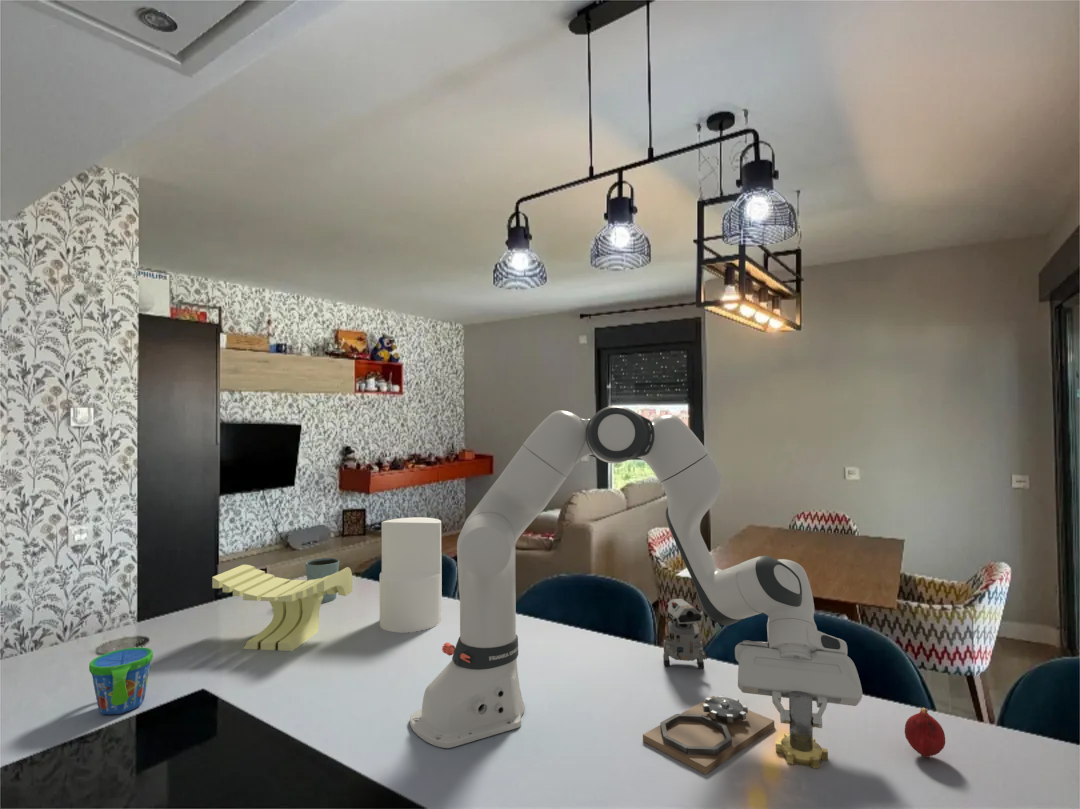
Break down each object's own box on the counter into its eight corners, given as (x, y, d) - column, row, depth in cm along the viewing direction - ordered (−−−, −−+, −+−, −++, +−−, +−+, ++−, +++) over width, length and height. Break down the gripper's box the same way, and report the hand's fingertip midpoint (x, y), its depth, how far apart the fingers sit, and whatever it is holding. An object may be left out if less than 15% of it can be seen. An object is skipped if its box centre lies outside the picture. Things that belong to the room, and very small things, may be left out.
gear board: (705, 774, 96) (705, 760, 96) (642, 741, 106) (642, 728, 106) (774, 727, 110) (774, 715, 110) (713, 701, 120) (713, 690, 120)
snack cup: (98, 696, 125) (98, 647, 125) (157, 686, 129) (158, 639, 130) (79, 732, 111) (79, 676, 111) (146, 718, 115) (146, 666, 116)
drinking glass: (299, 603, 186) (299, 564, 187) (316, 593, 196) (316, 557, 197) (329, 604, 185) (329, 565, 185) (345, 594, 195) (345, 557, 195)
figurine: (665, 678, 131) (664, 609, 132) (663, 657, 143) (662, 594, 143) (708, 680, 130) (707, 611, 130) (702, 659, 141) (701, 595, 142)
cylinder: (393, 610, 179) (393, 516, 179) (449, 612, 176) (448, 517, 177) (369, 631, 161) (368, 527, 162) (430, 633, 159) (430, 528, 160)
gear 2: (812, 774, 96) (811, 711, 96) (768, 754, 102) (767, 695, 102) (834, 755, 101) (833, 696, 101) (791, 737, 107) (790, 681, 107)
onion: (952, 768, 97) (951, 719, 97) (913, 764, 98) (912, 715, 98) (936, 749, 103) (935, 702, 103) (899, 745, 104) (898, 699, 104)
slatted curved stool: (352, 629, 163) (352, 564, 163) (324, 652, 147) (323, 580, 148) (250, 625, 167) (250, 561, 167) (212, 647, 151) (212, 577, 151)
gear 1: (732, 734, 106) (732, 716, 106) (694, 717, 112) (694, 700, 112) (756, 719, 111) (755, 701, 111) (718, 703, 117) (718, 687, 117)
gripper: (734, 631, 111) (737, 709, 102) (856, 642, 105) (870, 726, 96) (734, 646, 115) (736, 722, 106) (851, 658, 110) (864, 739, 100)
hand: (801, 724), depth 101 cm, fingers closed on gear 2, 4 cm apart
